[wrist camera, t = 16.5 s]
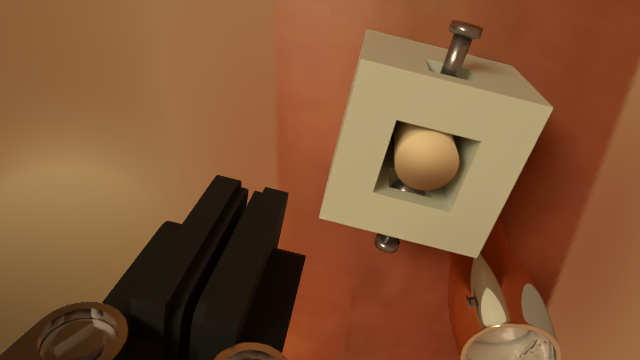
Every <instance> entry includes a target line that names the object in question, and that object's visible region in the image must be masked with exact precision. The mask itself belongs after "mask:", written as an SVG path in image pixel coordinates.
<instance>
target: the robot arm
mask: <svg viewBox="0 0 640 360" xmlns="http://www.w3.org/2000/svg"><path fill="white" fill-rule="evenodd" d="M247 198H248V189H246V188H242V187H241V181H240V180H236V179H232V178H228V177H224V176H220V175H217V176H216V177H215V178H214V180H213V181H212V182H211V184H210V185H209V187H208V188H207V189H206V191H205V192H204V194H203V195H202V197H201V198H200V199H199V201H198V202H197V204H196V205H195V207H194V208H193V210H192V211H191V212H190V214H189V215H188V217H187V218H186V220H185V221H184V222H183V224H179V223H175V222H171V221H166V222H165V223H164V224H163V225H162V226H161V227H160V228H159V229H158V231H157V232H156V233H155V235H154V236H153V237H152V238H151V240H150V241H149V242H148V244H147V245H146V246H145V248H144V249H143V250H142V251H141V253H140V254H139V256H138V257H137V258H136V259H135V261H134V262H133V263H132V265H131V266H130V267H129V269H128V270H127V271H126V273H125V274H124V275H123V276H122V277H121V279H120V280H119V282H118V283H117V284H116V285H115V287H114V288H113V289H112V290H111V292H110V293H109V294H108V296H107V297H106V299H105V300H104V301H103V302H102V303H99V302H79V303H74V304H69V305H66V306H63V307H61V308H59V309H56V310H54V311H52V312H50V313H49V314H48V315H46V316H45V317H43V318H42V319H40V320H39V321H38V322H37V323H36V324H35V325H33V326H32V327H31V328H30V329H29V330H28V331H27V332H25V333H24V334H23V335H22V336H21V337H20V338H18V339H17V340H16V341H15V342H14V343H13V344H12V345H10V346H9V347H8V348H7V349H6V350H5V351H4V352H2V353H1V354H0V360H288V359H287V358H286V357H285V356H284V355H283V354H282V351H283V347H284V343H285V339H286V335H287V331H288V327H289V323H290V319H291V314H292V310H293V306H294V302H295V298H296V294H297V290H298V286H299V282H300V278H301V274H302V270H303V266H304V262H305V258H306V256H305V255H301V254H298V253H294V252H290V251H286V250H282V249H278V248H277V247H278V243H279V238H280V233H281V228H282V224H283V219H284V214H285V209H286V204H287V200H288V193H287V192H283V191H279V190H276V189H272V188H268V187H265V189H264V191H263V192H262V193H261V192H258V191H254V193H253V195H252V197H251V199H250V201H249V203H248V205H247ZM246 205H247V207H246Z"/></svg>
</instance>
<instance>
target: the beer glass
mask: <svg viewBox="0 0 640 360" xmlns="http://www.w3.org/2000/svg"><path fill="white" fill-rule="evenodd" d="M446 252H447V254H448V256H449V259H450V272H449V285H448V307H449V315H450V321H451V326H452V331H453V335H454V339H455V342H456V346H457V349H458V353H459V356H460V360H561V349H560V346H559V344H558V342H557V339H556V335H555V332H554V329H553V326H552V322H551V319H550V316H549V314H548V311H547V308H546V306H545V303H544V301H543V299H542V297H541V295H540V293H539V291H538V289H537V287H536V285H535V284H534V282H533V280H532V279H531V277H530V276H529V274H528V273H527V272H526V270H525V269H524V268H523V266H522V265H521V264H520V262H519V261H518V260H517V258H516V257H515V256H514V254H513V253H512V251H511V250H510V248H509V246H508V242H507V232H506V227H505V224H504V222H503V220H502V218H501V217H500V216H498V218H497V220H496V222H495V224H494V226H493V228H492V230H491V232H490V234H489V236H488V238H487V240H486V241H485V243H484V245H483V247H482V249H481V251H480V253H479V255H478V257H477V258H473V257H470V256H466V255H462V254H458V253H454V252H450V251H446Z"/></svg>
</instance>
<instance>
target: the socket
mask: <svg viewBox="0 0 640 360" xmlns="http://www.w3.org/2000/svg"><path fill="white" fill-rule="evenodd" d="M447 52H448V49H444V48H440V47H436V46H432V45H428V44H424V43H420V42H416V41H413V40H409V39H405V38H401V37H397V36H393V35H389V34H385V33H381V32H377V31H373V30H369V29H366V33H365V37H364V41H363V45H362V49H361V52H360V56H359V60H358V64H357V68H356V71H355V75H354V79H353V83H352V87H351V91H350V94H349V98H348V102H347V106H346V110H345V113H344V117H343V121H342V125H341V129H340V133H339V136H338V140H337V144H336V148H335V152H334V156H333V159H332V164H331V168H330V172H329V177H328V181H327V185H326V189H325V194H324V198H323V202H322V207H321V211H320V215H319V218H321V219H325V220H329V221H333V222H337V223H340V224H344V225H348V226H352V227H356V228H360V229H364V230H368V231H372V232H376V233H380V234H384V235H387V236H391V237H395V238H399V239H403V240H407V241H411V242H415V243H419V244H423V245H427V246H430V247H434V248H438V249H442V250H446V251H450V252H454V253H458V254H462V255H466V256H470V257H473V258H477V257H478V255H479V253H480V251H481V249H482V247H483V245H484V243H485V241H486V240H487V238H488V236H489V234H490V232H491V230H492V228H493V226H494V224H495V222H496V220H497V218H498V216H499V214H500V212H501V210H502V208H503V206H504V204H505V202H506V200H507V198H508V196H509V194H510V192H511V190H512V188H513V186H514V184H515V183H516V181H517V179H518V177H519V175H520V173H521V171H522V169H523V167H524V165H525V163H526V161H527V159H528V157H529V155H530V153H531V151H532V149H533V147H534V145H535V143H536V141H537V139H538V137H539V135H540V133H541V131H542V129H543V127H544V125H545V124H546V122H547V120H548V118H549V116H550V114H551V112H552V110H553V107H552V106H551V105H550V104H549V103H548V102H547V101H546V100H545V99H544V98H543V97H542V95H541V94H540V93H539V92H538V91H537V90H536V89H535V88H534V87H533V86H532V85H531V84H530V83H529V82H528V81H527V80H526V79H525V78H524V77H523V76H522V75H521V74H520V73H519V72H518V71H517V70H516V69H515V68H514V67H513V66H511V65H507V64H503V63H499V62H495V61H491V60H487V59H484V58H480V57H476V56H472V55H468V54H467V55H466V57H465V60H464V63H463V65H462V68H461V71H460V73H459V76H458V78H456V77H452V76H448V75H445V74H441V73H440V72H441V69H442V66H443V63H444V60H445V58H446V55H447ZM396 120H398V121H402V122H406V123H410V124H414V125H418V126H422V127H426V128H430V129H434V130H438V131H442V132H446V133H449V134H452V135H453V139H454V142H455V145H456V148H457V152H458V155H459V167H458V170H457V173H456V174H455V176H454V177H453V179H452V180H451V181H450V182H448V183H447V184H446V185H444V186H442V187H440V188H437V189H434V190H425V191H424V190H421V195H418V194H414V193H410V192H406V191H402V190H398V189H394V188H391V185H392V184H393V183H394V182H395V181H396V180H397V179H400V178H399V177H398V175H397V173H396V170H395V160H394V141H390V138H391V135H392V132H393V129H394V126H395V123H396Z"/></svg>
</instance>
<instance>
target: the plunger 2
mask: <svg viewBox="0 0 640 360" xmlns="http://www.w3.org/2000/svg"><path fill="white" fill-rule="evenodd" d="M449 31H450V32H452V33H454V35H453V38H452V41H451V44H450V47H449V49H448V52H447V55H446V58H445V60H444V63H443V66H442V69H441V72H440V73H441V74H445V75H448V76H452V77H456V78H458V76H459V73H460V71H461V68H462V65H463V63H464V60H465V57H466V55H467V52H468V50H469V47H470V44H471V42H472V39H480V36H481V34H482V31H483V28H481V27H479V26H476V25H473V24H470V23H466V22H462V21H457V20H452V22H451V25H450V28H449Z"/></svg>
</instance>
